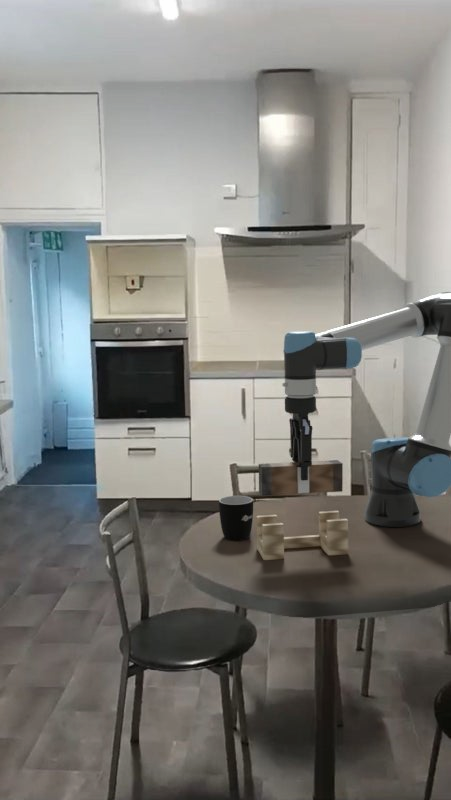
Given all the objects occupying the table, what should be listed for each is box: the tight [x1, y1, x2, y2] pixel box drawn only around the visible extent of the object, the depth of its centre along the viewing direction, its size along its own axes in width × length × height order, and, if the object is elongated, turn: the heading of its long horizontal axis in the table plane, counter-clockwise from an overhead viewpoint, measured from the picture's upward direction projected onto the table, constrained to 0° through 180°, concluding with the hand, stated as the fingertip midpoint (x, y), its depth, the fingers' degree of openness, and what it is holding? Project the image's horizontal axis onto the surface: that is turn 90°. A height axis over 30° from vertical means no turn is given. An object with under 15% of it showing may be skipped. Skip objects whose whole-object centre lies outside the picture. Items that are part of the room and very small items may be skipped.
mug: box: [218, 495, 254, 542], centre depth 213 cm, size 12×9×10 cm
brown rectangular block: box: [258, 459, 344, 497], centre depth 197 cm, size 20×4×7 cm, turn 98°
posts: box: [255, 510, 349, 561], centre depth 199 cm, size 21×9×8 cm, turn 98°
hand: (301, 490), depth 198 cm, fingers closed on brown rectangular block, 4 cm apart
